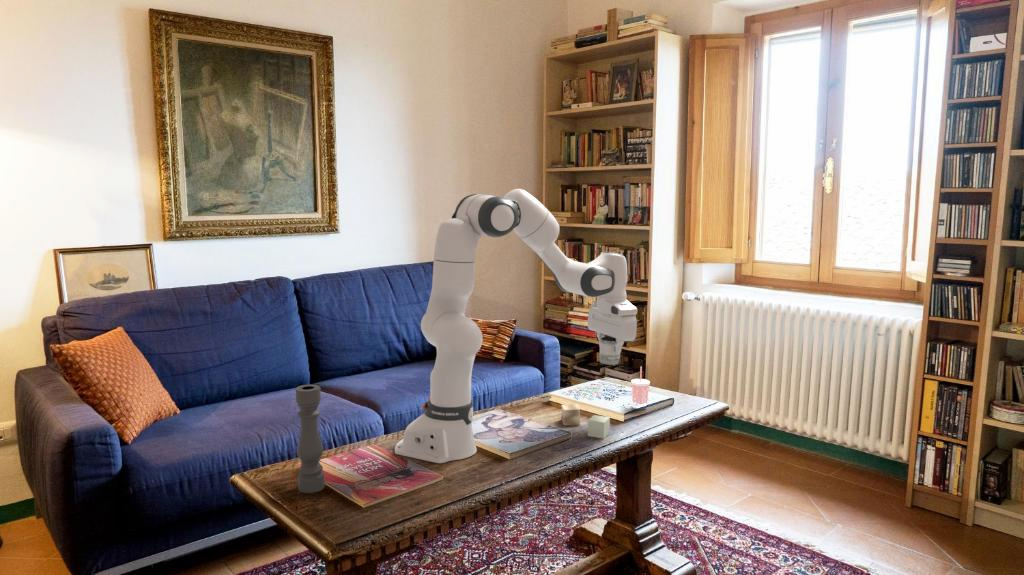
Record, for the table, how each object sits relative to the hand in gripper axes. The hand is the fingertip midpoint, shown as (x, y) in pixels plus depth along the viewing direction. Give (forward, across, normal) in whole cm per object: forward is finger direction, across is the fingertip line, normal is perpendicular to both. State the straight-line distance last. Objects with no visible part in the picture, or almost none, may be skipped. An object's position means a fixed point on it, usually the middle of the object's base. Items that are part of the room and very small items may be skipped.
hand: (610, 349), depth 220 cm
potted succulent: (+4, 0, 0) cm, 4 cm away
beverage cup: (+23, -6, +18) cm, 30 cm away
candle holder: (+24, +5, -92) cm, 96 cm away
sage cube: (+23, +8, -9) cm, 26 cm away
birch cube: (+23, -5, -10) cm, 26 cm away
